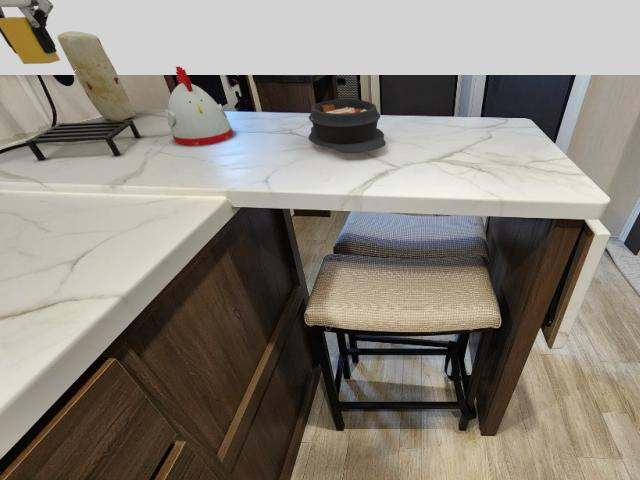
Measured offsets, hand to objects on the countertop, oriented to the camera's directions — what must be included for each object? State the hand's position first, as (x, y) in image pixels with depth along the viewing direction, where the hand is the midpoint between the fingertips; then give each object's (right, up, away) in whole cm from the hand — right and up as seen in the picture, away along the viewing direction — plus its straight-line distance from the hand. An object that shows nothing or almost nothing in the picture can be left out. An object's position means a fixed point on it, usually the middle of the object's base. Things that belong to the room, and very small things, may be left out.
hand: (36, 51), depth 67 cm
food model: (-8, +2, +30) cm, 31 cm away
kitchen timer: (+24, -9, +18) cm, 31 cm away
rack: (+1, -14, +12) cm, 19 cm away
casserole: (+61, -12, +16) cm, 64 cm away
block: (0, -1, +1) cm, 2 cm away
